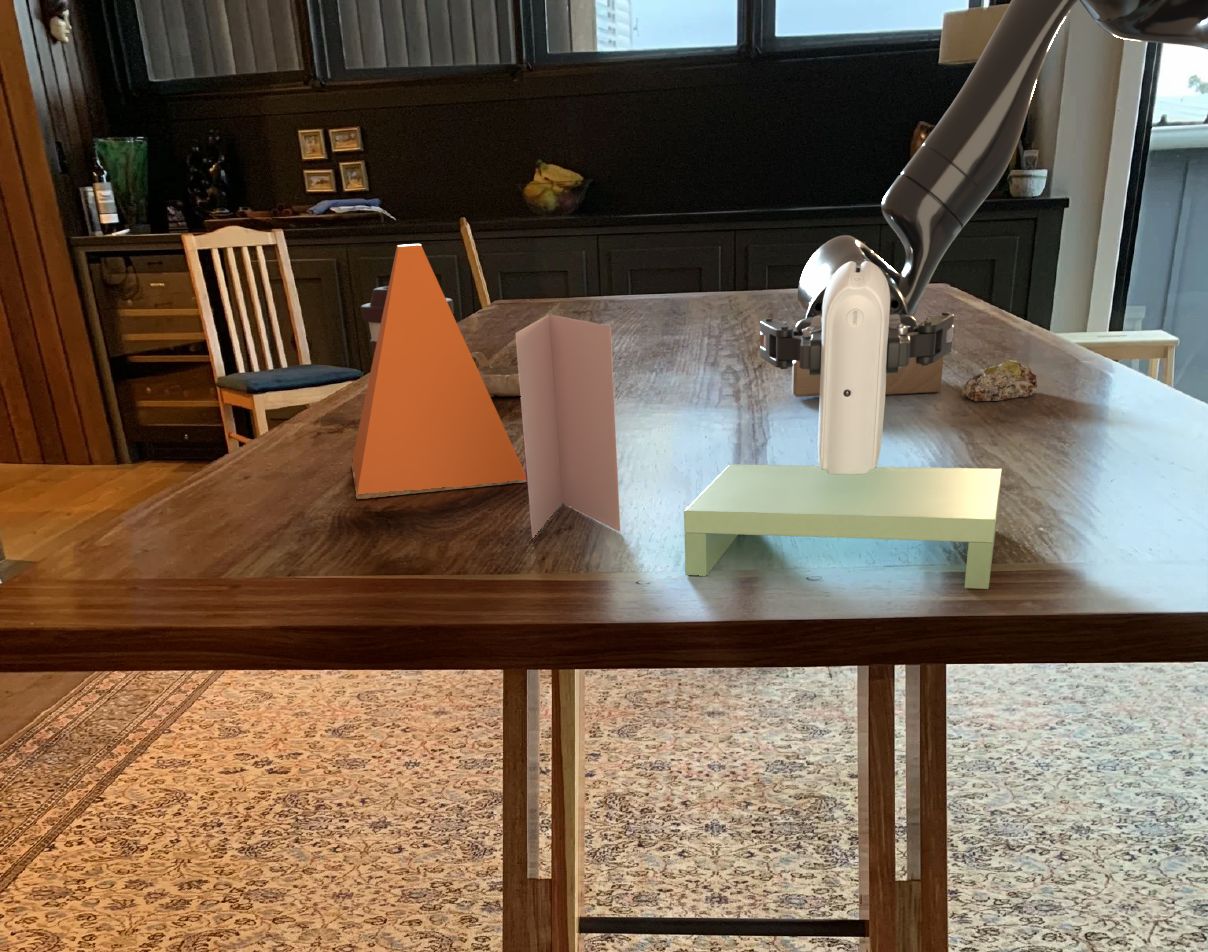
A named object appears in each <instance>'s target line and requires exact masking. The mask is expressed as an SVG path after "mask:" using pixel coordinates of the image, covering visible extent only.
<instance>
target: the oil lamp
mask: <svg viewBox="0 0 1208 952" xmlns="http://www.w3.org/2000/svg"><path fill="white" fill-rule="evenodd" d="M470 354H471V356H472V358H473V360H474V362H475V365H476V366H477V363H478V365H479V366H478V367H477V369H478V371H479V373H480V375H481V378H482V380H483V382H484V384H485V386H486V389H487V391H488V393H489V395H497V396H496V397H516V396H521V395H520V383H519V371H518V365H495V366H490V363H489V360H488V359H487V357H486V355H485V354H484V353H483V352H481V351H476V352H470Z"/></svg>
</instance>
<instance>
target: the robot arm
mask: <svg viewBox="0 0 1208 952" xmlns="http://www.w3.org/2000/svg"><path fill="white" fill-rule="evenodd" d="M1078 1H1079V2H1080V3H1081V5H1082V6H1083V7H1084V9H1085V10H1086V11H1087V13H1088V14H1089V15H1090V16H1091V18H1092V20H1094V21H1095V23H1096V24H1097V25H1098V27H1100V28H1101V29H1102V30H1103V31H1105V32H1106V33H1108V34H1109V35H1112V36H1114V37H1116V38H1120V39H1123V40H1130V41H1134V42H1135V41H1136V42H1143V43H1144V42H1145V43H1157V44H1167V45H1181V46H1188V47H1189V46H1191V47H1195V48H1201V49H1204V50H1208V0H1010V2H1009V4H1008V6H1007V8H1006V9H1005V12H1004V13H1003V15H1002V17H1001V19H1000V21H999V22H998V24H997V26H996V27H995V29H994V31H993V33H992V34H991V36H990V38H989V41H988V42H987V44H986V45H985V48H984V49H983V51H982V53H981V54H980V56H979V58H978V60H977V62H976V63H975V65H974V67H973V69H972V71H971V72H970V74H969V76H968V77H967V79H966V81H965V82H964V84H963V86H962V87H961V89H960V91H959V92H958V93H957V95H956V97H955V98H954V99H953V100H952V103H951V104H950V106H949V107H948V108H947V110H946V111H945V112H944V114H943V115H942V117H941V118H940V120H939V121H938V123H937V124H936V125H935V127H934V128H933V129H932V131H931V132H930V133H929V135H928V136H927V137H926V139H925V140H924V141H923V143H922V144H921V146H919V148H918V149H917V151H916V152H915V153H914V155H913V156H912V157H911V159H910V160H909V161H908V162H907V164H906V165H905V167H904V168H903V169H902V171H901V172H900V175H898V176H897V177H896V179H895V180H894V182H892V184H891V186H890V187H889V188H888V190H887V191H886V193H885V195H884V196H883V198H882V201H881V204H880V211H881V213H882V216H883V218H884V220H885V221H886V222H887V224H888V225H889V227H890V228H891V229H892V230H893V231H894V233H895V234H896V235H897V238H899V240H900V242H901V244H902V245H903V248H904V252H905V262H904V266H903V269H902V270H901V272H900V273H899V272H897V271H896V270H895V269H894V268H893V267H892V266H891V265H889V264H888V263H887V262H886V261H884V259H883V258H881V257H880V256H879V255H878V254H877V253H875V252H874V251H873V250H872V249H871V248H869V246H867V245H866V244H865V243H863V242H862V240H860V239H858V238H857V237H854V236H852V235H848V234H847V235H846V234H844V235H839V236H835V237H833V238H831V239H829V240H827V241H826V242H825V243H823V244H822V245H820V246H819V248H818V249H816V251H815V252H814V253H813V254H812V255H811V257H810V258H809V260H808V261H807V262H806V264H805V266H804V268H803V270H802V273H801V275H800V277H799V282H798V288H797V300H798V305H799V307H800V308H801V310H802V311H803V313H804V314H805V318H803V319H801V320H799V321H797V323H796V324H795V328H793V327H791V326H790V325H788V323H787V321H785V320H781V321H779V320H777V319H773V318H772V317H765V319H762V320H760V323H759V324H760V325H759V326H760V327H759V329H760V331H759V333H760V334H759V357H760V358H761V359H763V360H764V361H765V362H767V363H769V364H770V365H772V366H773V367H775V368H779V369H780V370H788V368H792V366H793V360H796V361H800V366H799V368H801V369H806V370H810V376H812V375H820V373H821V340H822V321H821V318H822V306H823V298H824V294H825V290H826V287H827V285H828V283H829V280H830V278H831V277H832V275H833V274H834V273H835V272H836V271H837V270H838V269H839V268H840V267H841V266H842V265H844V264H846V263H848V262H850V261H853V262H855V263H856V265H857V267H860V266H861V264H862V263H863V262H865V261H868V262H871V263H873V264H874V265H876V266H877V267H878V268H879V269H880V270H881V271H882V272H883V274H884V275H885V277H886V279H887V282H888V285H889V290H890V312H889V330H888V350H887V374H893V373H898V368H901V366H908V365H909V358H912V357H916V363H917V364H921V365H923V366H926V365H928V364H931V363H934V362H936V361H937V360H939V359H940V358H942V357H943V358H944V357H946V356H947V355H948V354H949V353H951V352H952V349H953V336H954V335H953V334H954V325H955V314H954V313H950V312H949V311H943V312H941V313H938V314H935V315H933V316H931V315H930V316H926V319H925V320H924V321H922V322H920V323H917V320H916V319H915V316H916V313H917V310H918V308H919V306H920V304H921V302H922V299H923V297H924V294H925V292H926V290H927V287H928V286H929V284H930V281H931V279H932V277H933V276H934V274H935V272H936V269H937V267H938V266H939V264H940V262H941V260H942V258H943V257H944V255H946V252H947V250H948V249H949V247H950V246H951V244H952V243H953V242H954V241H955V239H956V238H957V236H958V235H959V234H960V232H961V231H962V229H963V228H964V227H965V226H966V224H967V223H968V222H969V221H970V220H971V218H972V217H973V216H974V214H975V213H976V212H977V211H978V209H979V208H980V206H982V204H983V203H984V202H985V200H986V199H987V198H988V197H989V195H990V194H991V192H992V191H993V190H994V189H995V187H996V186H997V185H998V184H999V181H1000V180H1002V179H1001V178H1002V177H1003V176H1004V173H1005V172H1006V170H1007V168H1008V166H1009V164H1010V163H1011V160H1012V158H1013V155H1014V153H1015V151H1016V149H1017V146H1018V144H1019V140H1020V138H1021V135H1022V133H1023V129H1024V125H1025V122H1026V119H1027V116H1028V111H1029V108H1030V104H1031V100H1032V97H1033V94H1034V91H1035V88H1036V84H1037V81H1038V78H1039V75H1040V72H1041V69H1042V67H1043V64H1044V62H1045V60H1046V57H1047V55H1048V52H1049V49H1050V47H1051V45H1052V43H1053V41H1054V38H1055V37H1056V34H1058V31H1059V29H1060V27H1061V25H1062V24H1063V23H1064V21H1065V19H1066V18H1067V16H1068V14H1070V12H1071V10H1072V9H1073V7H1074V6H1075V4H1076V3H1077V2H1078ZM917 324H918V325H917Z"/></svg>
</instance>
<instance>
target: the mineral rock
mask: <svg viewBox="0 0 1208 952" xmlns="http://www.w3.org/2000/svg"><path fill="white" fill-rule="evenodd" d="M983 372H984V373H978V374H977V375H973V376H972V377H971V378H969V379H968V380H967V381H966V384H964V385H963V389H962V390H961V395H962V396H963V397H966V398H968V399H969V400H973V401H974V402H999V401H1007V400H1010V399H1014V398H1015V399H1016V398H1027V397H1030V396H1033V395H1034V394H1036V393H1037V388H1038V379H1037V374H1035V372H1034V371H1033V370H1032V368H1031V367H1030V366H1026V365H1024V364H1021V363H1020V362H1018V361H1017V360H1012V359H1007V360H1005V361H1003V362H1002V363H999V364H998V365H997V364H996V365H991V366H988V367H986V368H984V369H983Z"/></svg>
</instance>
